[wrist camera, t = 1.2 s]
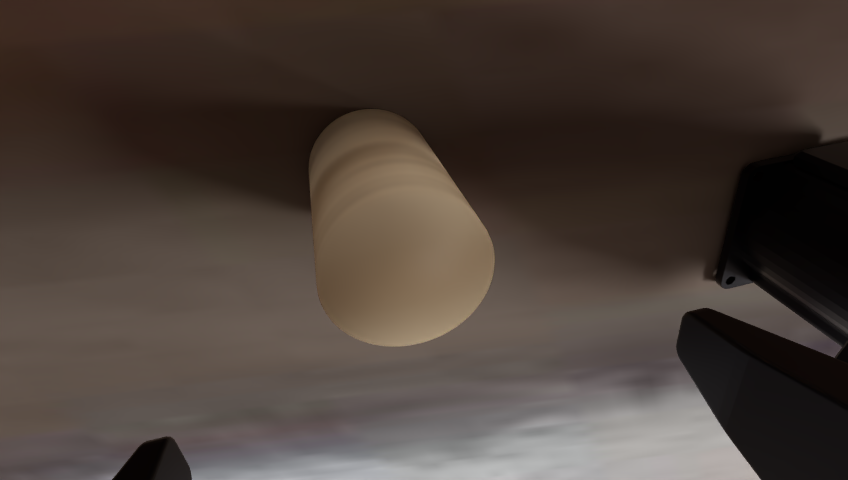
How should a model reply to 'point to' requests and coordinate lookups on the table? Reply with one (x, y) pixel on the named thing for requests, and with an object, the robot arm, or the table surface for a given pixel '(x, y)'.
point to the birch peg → (392, 233)
